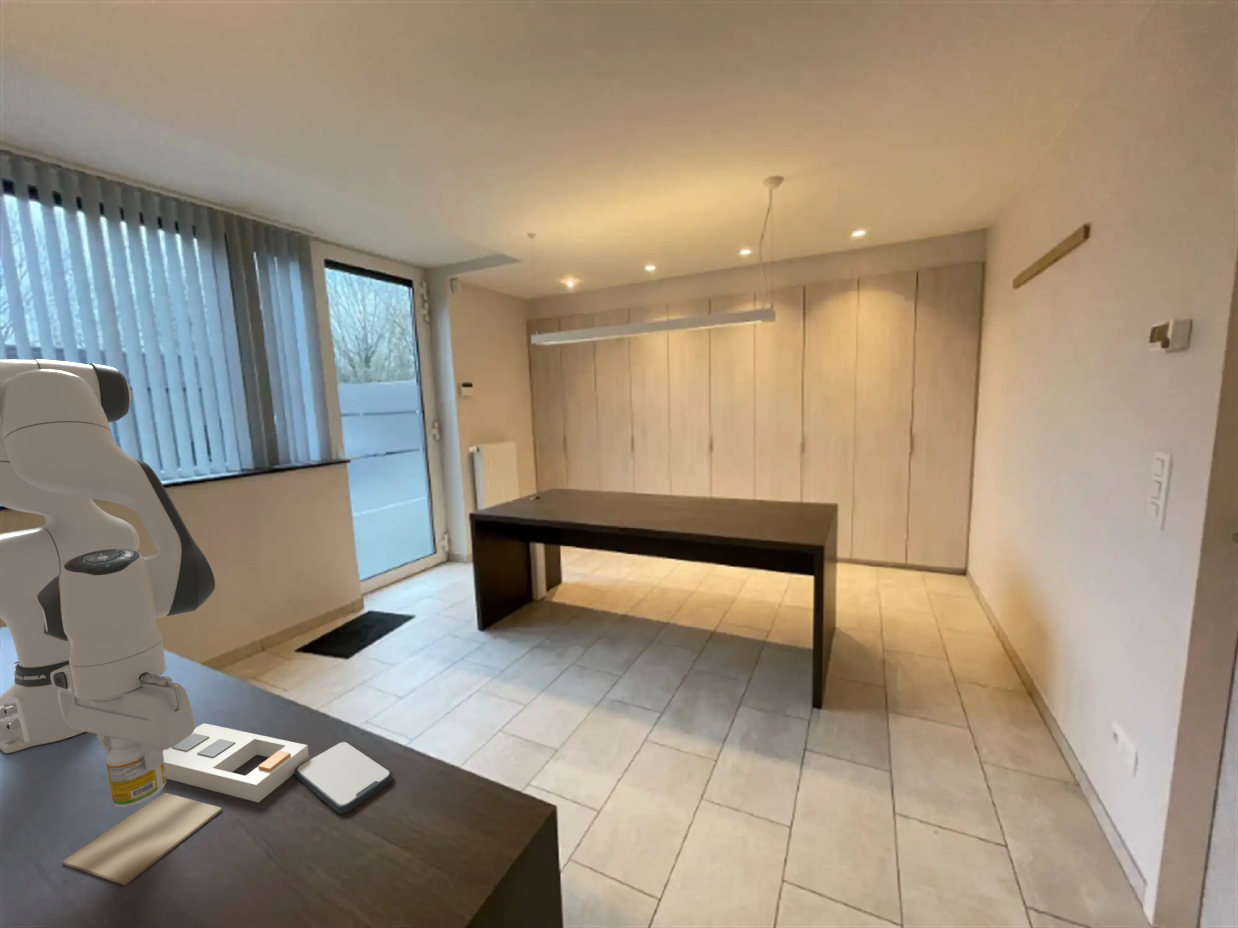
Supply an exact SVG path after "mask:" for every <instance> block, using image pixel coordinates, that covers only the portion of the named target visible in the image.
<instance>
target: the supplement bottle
mask: <svg viewBox="0 0 1238 928" xmlns="http://www.w3.org/2000/svg"><path fill="white" fill-rule="evenodd" d="M110 739H111V745H112V749H111V750H110V752H109V753H108V754H107V753H106V758H105V762H106V767H107V769H106V770H107V775H108V780H109V784H110V791H111V797H112V802H113V805H114V806H116V807H117V808H129V807H133V806H135V805H138V804H139V805H140V804H141V803H145V802H146V801H148V800H149V799H152V798H153V797H155V796H156V795H157V794H159V793H160V792H161V791H162V790H163V788H164V787H165V786H166V784H167V779H166V775H165V769H164V763H163V764H162V765H160V766H159V767H157V768H155V769H154V770H146V769H143V768H142V767H141V766H142V764H141V760H140V758H142V757H144V756H145V753H146V749H143V747H142V745H141V744H137V743H133V742H128V741H124V740H120V739H117V738H112V737H110Z"/></svg>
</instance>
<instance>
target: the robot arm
mask: <svg viewBox="0 0 1238 928" xmlns="http://www.w3.org/2000/svg"><path fill="white" fill-rule="evenodd" d="M132 398H133V397H132V390H131V387H130V385H129V383H128V381H127V379H126V377H125V375H124V374H123V373H122V372H121V371H119V369H117V368H115V367H112V366H109V365H103V364H98V363H93V362H92V363H91V362H90V363H89V364H85V363H79V362H72V361H64V360H51V359H39V358H38V359H37V358H34V359H8V358H7V359H4V358H3V359H2V358H0V505H1V506H2V507H4V508H6V509H10V510H13V511H17V512H22V513H29V514H35V515H39V516H43V517H44V519H45V520H44V521H45V524H44V525H42V526H38V527H35V528H29V529H21V530H16V531H15V530H14V531H9V532H8V531H7V532H3V533H0V619H1V621H3V623H4V624H5V625H6V626H7V628H8V630H9V633H10V636H11V638H12V641H13V645H14V649H15V652H16V656H17V661H15V662H14V663H13V664H14V665H15V666H14V668H15V669H14V673H13V676H14V683H13V684H12V685H11V686H10V687H9V688H7V690H6V691H5V692H3V693H2V694H1V695H0V750H1V752H3V753H5V754H9V753H14V752H15V753H16V752H19V751H22V750H24V749H28V748H31V747H34V746H39V745H45V744H49V743H54V742H57V741H62V740H65V739H68V738H71V737H74V736H77V735H80V734H82V733H85V732H86V733H89V734H95V735H96V738H97V740H98V742H99V743H100V745H101V746H102V748H103V749H104V750H105V752H106V755H107V754H108V753H109V752H110V750H111V749H112V745H111V739H110V737H112V738H117V739H120V740H124V741H128V742H133V743H137V744H141V745H142V747H143V749H146V753H145V756H144V757H142V758H140V760H141V764H142V766H141V767H142V768H143V769H146V770H154V769H155V768H157V767H159V766H160V765H162V764H163V762H164V757H163V751H164V750H167V749H169V748H171V747H173V746H175V745H177V744H178V743H180V742H182V741H183V740H185V739H186V738H188V737H189V736H191V735H192V733H193V732H194V729H195V728H196V722H195V718H194V717H195V716H194V713H193V709H192V705H191V702H190V699H189V695H188V692H187V691H186V689H185V688H184V687H183V686H182V685H181V684H180V683H177V682H173V679H172V678H171V677H170V676H163V674H164V673H165V672H166V670H167V663H166V657H165V652H164V651H165V650H164V645H163V644H164V643H163V636H162V633H161V631H160V630H159V629H158V626H157V623H156V620H157V619H158V618H163V617H170V616H176V615H180V614H185V613H189V612H191V613H192V612H195V611H196V610H197V609H199V608H200V607H201V606H202V605H203V604H204V603H205V602H207V600H208V599H209V598H210V596H212V594H213V592H214V591H215V589H216V580H215V579H216V578H215V577H216V576H215V571H214V570H213V568H212V565H211V564H210V562H209V561H208V559H207V558H206V556H205V554H204V553H203V552H202V550H201V548H199V546H198V544H197V543H196V541H195V540H194V538H193V537H192V535H191V533H190V531H189V530H188V528H187V526H186V524H185V522H184V520H183V519H182V517H181V515H180V512H179V511H178V510H177V507H176V505H175V504H174V502H173V501H172V498H171V497H170V495H169V493H168V492H167V490H166V488H165V486H164V485H163V483H162V481H161V480H160V478H159V477H158V475H157V473H156V472H155V471H154V470H153V469H152V468H151V466H150V465H149V464H148V463H147V462H145V461H141V460H138V459H134V458H133V457H131V456H130V455H128V454H127V453H126V452H125V451H124V450H123V449H121V448H120V446H119V445H118V444H117V442H116V441H115V439H114V436H113V434H112V429H111V426H110V423H112V422H116V421H119V420H121V419H122V418H124V417H125V416H126V415H127V414H128V413H129V409H130V407H131V403H132ZM94 500H99V501H103V502H110V503H114V504H118V505H121V506H124V507H126V508H128V509H131V510H132V511H134V512H135V513H136V514H137V515H138V517H139V519H140V520H141V522H142V524H143V526H144V528H145V529H146V532H147V533H148V535H149V537H150V538H151V540H152V542H153V543H154V546H155V547H156V549H157V552H158V553H155V554H153V555H148V556H143V555H142V554H141V553H140V552H138V551H139V548H140V536H139V533H138V532H137V529H136V527H134V526H133V525H132V524H131V523H129V522H128V521H126V520H124V519H123V518H119V517H116V516H114V515H112V514H110V513H107V512H106V511H104V510H103V509H102V508H100V506H98V505H97V504H96V502H95V501H94Z"/></svg>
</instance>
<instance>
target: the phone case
mask: <svg viewBox="0 0 1238 928" xmlns="http://www.w3.org/2000/svg"><path fill="white" fill-rule="evenodd" d="M294 776H295V778H296V779H298V780H299V781H300V782H301V783H302V784H303V785H304V786H305V787H306V788H308V789H309V791H311V792H312V793H313V794H314V795H316V796H317V797H318V798H319V799H320V800H321V801H323V803H325V804H326V805H328V807H330V808H331V809H332V810H334V812H335V813H337V814H338V815H346V814H348V813H350V812H352V811H353V810H355V809H356V808H358V807H359V806H361V805H362V804H363V803H365V802H367V800H369V799H370V798H372V797H373V796H375V795H377V794H378V793H379V792H381V791H382V790H384V789H385V788H386V787H388V786H389V785H391V783H392V782H393V780H394V775H393V771H392V770H390V769H389V768H388V767H386V766H385V765H383V764H382V763H380V762H378V761H377V760H376V759H374V758H373V757H371V756H370V755H368V754H367V753H365V752H363V751H362V750H361V749H359V748H357V747H356V746H355V745H353V744H351V743H350V742H349V741H340V742H337V743H336V744H334V745H332V746H331V747H328V749H325V750H323V751H322V752H320V753H318V754H317V755H315V756H313V757H311V758H309V760H308V761H306V762H304V763H302V764H301V765H299V766H298V767H297V768H296V769H295V773H294Z"/></svg>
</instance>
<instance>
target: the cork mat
mask: <svg viewBox="0 0 1238 928" xmlns="http://www.w3.org/2000/svg"><path fill="white" fill-rule="evenodd" d="M222 811H223V807H220V806H216V805H212V804H209V803H205V802H201V801H198V800H194V799H190V798H187V797H183V796H179V795H176V794H171V793H168V792H163V793H162V794H160V795H159V796H158V797H156V798H155V799H153V800H151V801H150V802H149V803H147V804H146V805H144V806H143V807H141V808H140V809H138V810H137V811H135V812H133V813H132V814H131V815H129V816H128V817H126V818H124V819H123V820H122V821H120V822H119V823H117V824H116V825H114V826H113V827H111V828H110V829H108V830H107V831H105V832H104V833H102V834H101V835H99V836H98V837H96V838H95V839H93V840H92V841H90V842H89V843H88V844H85V845H84V846H83V847H82V848H80V849H78V850H77V851H75V852H74V853H73V854H71V855H70V856H68V857H66V858H65V859H64V860H62V865H65V866H68V867H71V868H73V869H76V870H80V871H82V872H86V873H87V874H90V875H94V876H95V877H99V878H102V879H105V880H107V881H110V882H113V883H116V884H119V885H122V886H126V885H127V884H129V883H130V882H132V881H133V880H134V879H135V878H137V877H138V876H139V875H140V874H142V873H144V871H146V870H148V869H149V868H150V867H151V866H153V865H154V864H155V863H156V862H158V861H159V860H160V859H162V858H163V857H164V856H165V855H166V854H168V853H169V852H170V851H171V850H173V849H174V848H175V847H177V846H178V845H180V844H181V843H182V842H183V841H184V840H186V839H187V838H189V837H190V836H191V835H192V834H194V833H195V832H196V831H197V830H199V829H200V828H202V826H204V825H205V824H206V823H208V822H209V821H210V820H212V819H213V818H215V817H216V816H217V815H218V814H219V813H221V812H222Z"/></svg>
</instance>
